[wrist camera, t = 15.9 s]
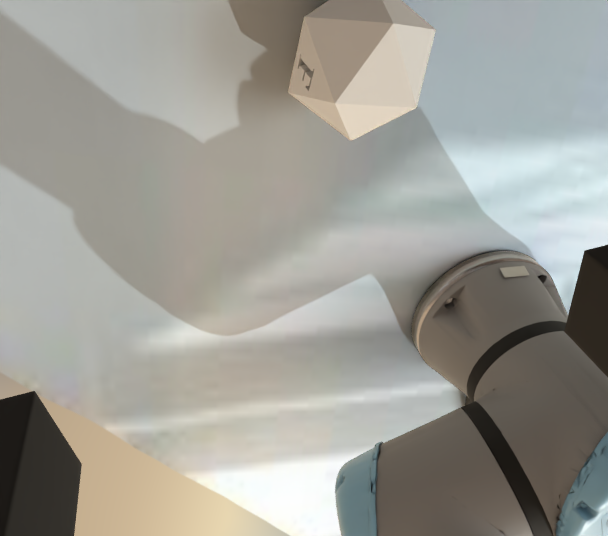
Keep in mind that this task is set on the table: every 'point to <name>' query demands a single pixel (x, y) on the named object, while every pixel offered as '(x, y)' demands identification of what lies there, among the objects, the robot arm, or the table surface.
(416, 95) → the die
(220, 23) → the table surface
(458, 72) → the table surface
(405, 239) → the table surface
